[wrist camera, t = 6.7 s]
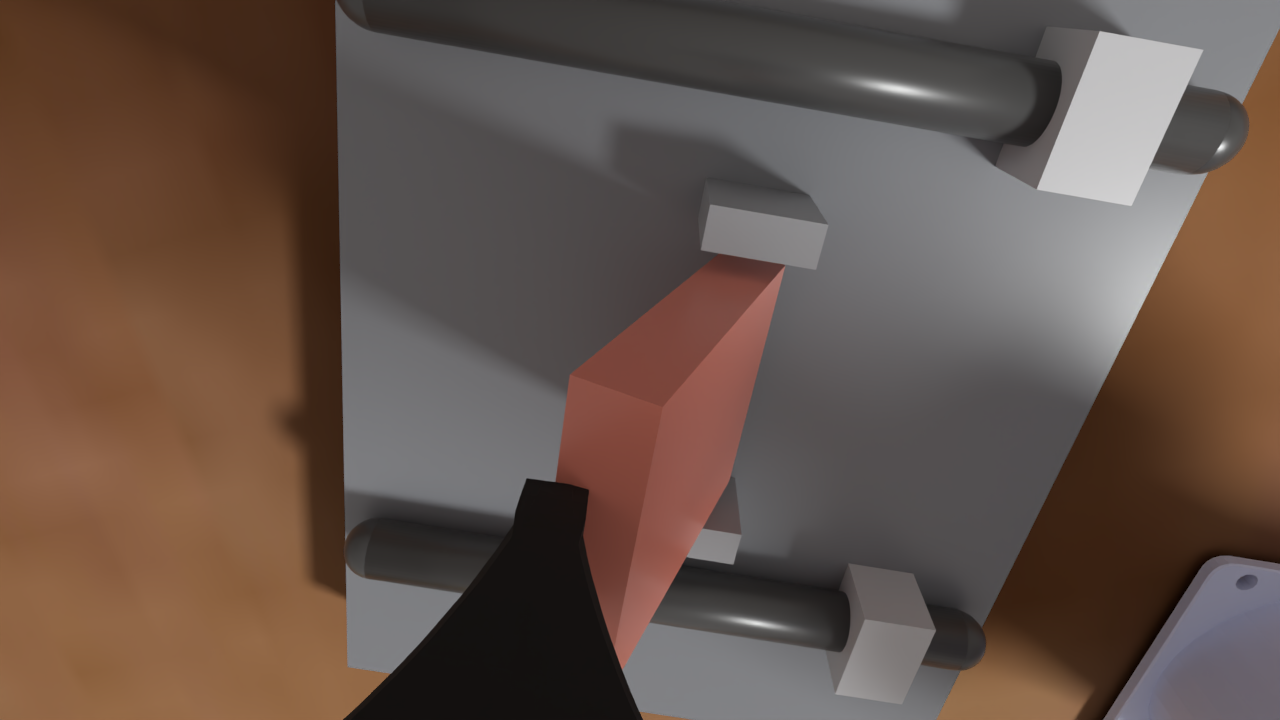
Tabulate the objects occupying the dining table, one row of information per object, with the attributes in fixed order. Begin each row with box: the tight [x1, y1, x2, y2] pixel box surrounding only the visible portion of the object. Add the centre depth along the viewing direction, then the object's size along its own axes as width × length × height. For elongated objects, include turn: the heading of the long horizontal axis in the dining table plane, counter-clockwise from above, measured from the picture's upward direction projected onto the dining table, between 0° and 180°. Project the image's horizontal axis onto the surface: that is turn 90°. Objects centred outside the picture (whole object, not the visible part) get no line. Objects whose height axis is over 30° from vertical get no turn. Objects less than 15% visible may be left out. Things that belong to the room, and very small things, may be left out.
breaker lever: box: [555, 253, 785, 670], centre depth 13 cm, size 1×5×6 cm, turn 171°
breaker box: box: [335, 0, 1280, 720], centre depth 16 cm, size 16×22×4 cm
